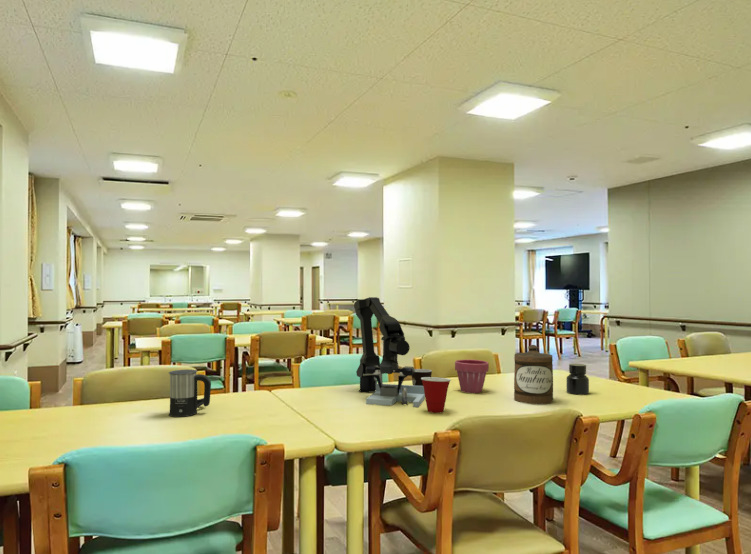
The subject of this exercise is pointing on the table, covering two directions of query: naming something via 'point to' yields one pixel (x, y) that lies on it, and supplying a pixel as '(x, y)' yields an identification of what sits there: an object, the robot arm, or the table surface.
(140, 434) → the table surface
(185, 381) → the milk frother
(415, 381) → the coffee mug
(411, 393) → the grey walled base plate
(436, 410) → the plastic cup
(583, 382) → the ink bottle
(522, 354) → the wooden container
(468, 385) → the plant pot
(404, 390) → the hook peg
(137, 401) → the table surface
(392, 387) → the square hollow frame
